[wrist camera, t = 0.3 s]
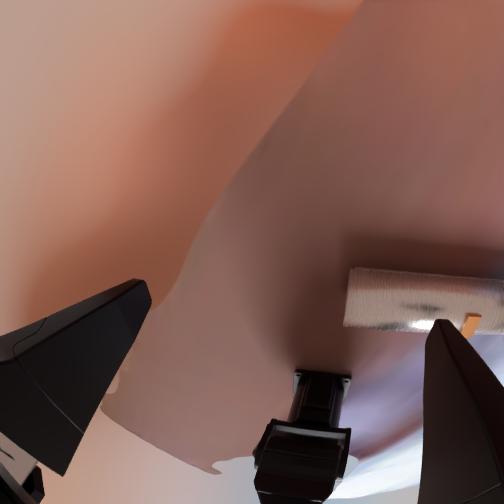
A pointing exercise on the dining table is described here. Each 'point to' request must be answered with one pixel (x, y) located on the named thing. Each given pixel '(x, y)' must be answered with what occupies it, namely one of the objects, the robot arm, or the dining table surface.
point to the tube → (423, 301)
